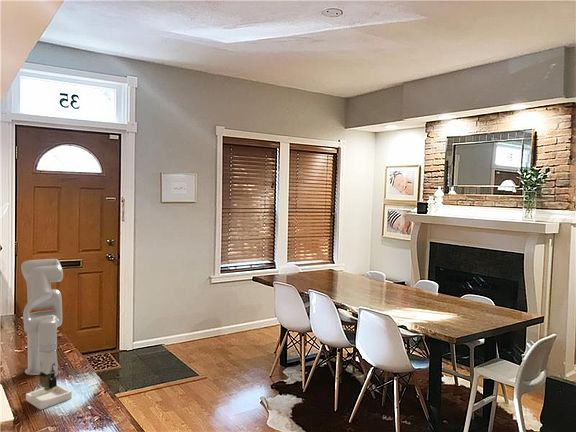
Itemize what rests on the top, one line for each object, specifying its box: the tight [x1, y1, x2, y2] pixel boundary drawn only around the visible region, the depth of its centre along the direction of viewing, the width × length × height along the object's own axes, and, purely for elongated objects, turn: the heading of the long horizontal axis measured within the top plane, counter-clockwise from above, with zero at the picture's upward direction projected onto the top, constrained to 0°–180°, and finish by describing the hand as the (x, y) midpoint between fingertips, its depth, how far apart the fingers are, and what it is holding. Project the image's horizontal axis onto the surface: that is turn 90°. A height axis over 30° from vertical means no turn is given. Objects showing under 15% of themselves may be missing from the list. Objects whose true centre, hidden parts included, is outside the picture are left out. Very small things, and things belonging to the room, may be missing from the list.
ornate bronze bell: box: [38, 371, 58, 391], centre depth 211 cm, size 8×7×8 cm
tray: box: [25, 383, 73, 410], centre depth 212 cm, size 14×14×3 cm
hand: (48, 384), depth 211 cm, fingers closed on ornate bronze bell, 7 cm apart
